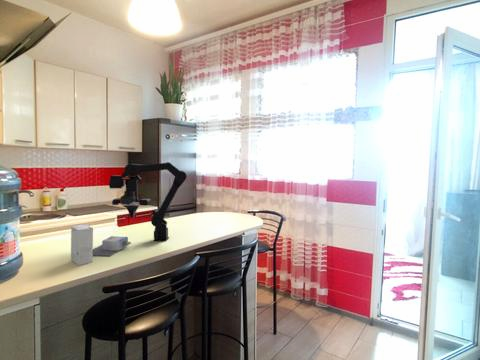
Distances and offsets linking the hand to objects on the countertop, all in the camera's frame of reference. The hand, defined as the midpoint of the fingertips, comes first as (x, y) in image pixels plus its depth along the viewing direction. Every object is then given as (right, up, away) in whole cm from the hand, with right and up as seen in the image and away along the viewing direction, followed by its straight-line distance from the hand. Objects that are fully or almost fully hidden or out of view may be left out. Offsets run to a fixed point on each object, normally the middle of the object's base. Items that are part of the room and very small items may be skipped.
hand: (132, 218), depth 148 cm
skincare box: (-10, -14, -29) cm, 34 cm away
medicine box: (+1, -10, -13) cm, 17 cm away
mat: (-6, -13, -13) cm, 19 cm away
